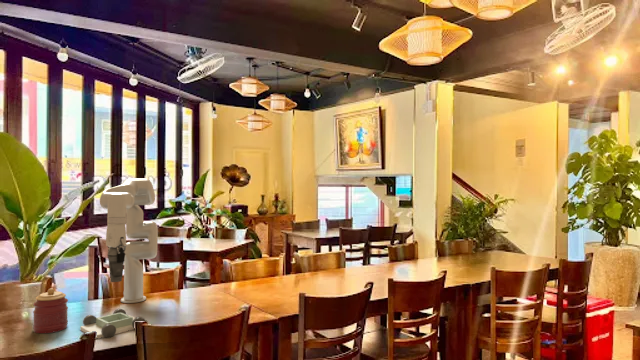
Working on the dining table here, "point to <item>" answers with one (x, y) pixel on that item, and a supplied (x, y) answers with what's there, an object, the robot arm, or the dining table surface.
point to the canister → (50, 312)
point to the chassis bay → (109, 323)
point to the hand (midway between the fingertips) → (116, 261)
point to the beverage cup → (115, 265)
